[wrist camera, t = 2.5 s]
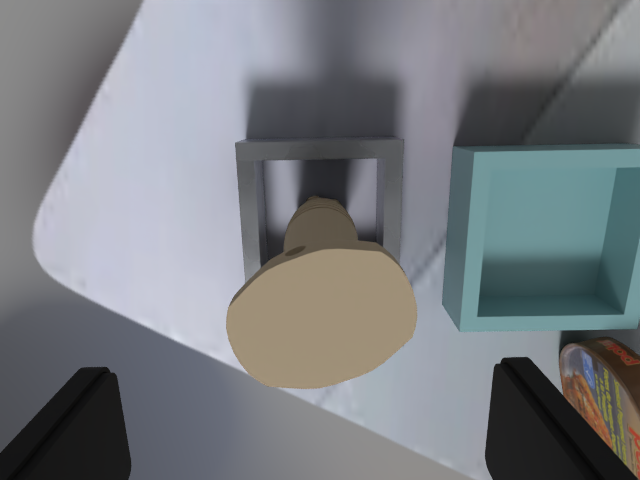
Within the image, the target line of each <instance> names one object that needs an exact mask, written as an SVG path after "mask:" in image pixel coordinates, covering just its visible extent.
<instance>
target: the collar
mask: <svg viewBox="0 0 640 480" xmlns="http://www.w3.org/2000/svg"><path fill="white" fill-rule="evenodd" d="M235 148H236V162H237V176H238V190H239V203H240V217H241V231H242V244H243V258H244V272H245V283H246V282H247V281H248V280H249V279H250V278H251V277H252V276H253V275H254V274H255V273H256V272H257V271H258V270H259V269H260V268H261V267H262V266H264V265H265V264H266V263H267V262H268V249H267V231H266V214H265V196H264V178H263V160H314V159H368V158H377V208H376V243H378V244H379V245H380V246H382V247H383V248H385V249H386V250H387V251H388V252H389V253H390V254H392V255H393V256H394V257H395V259H396V260H397V262H398V263H399V261H400V234H401V206H402V179H403V151H404V140H403V139H400V138H397V137H394V136H381V137H328V138H274V139H244V140H241V141H239V142H236V143H235Z"/></svg>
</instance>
